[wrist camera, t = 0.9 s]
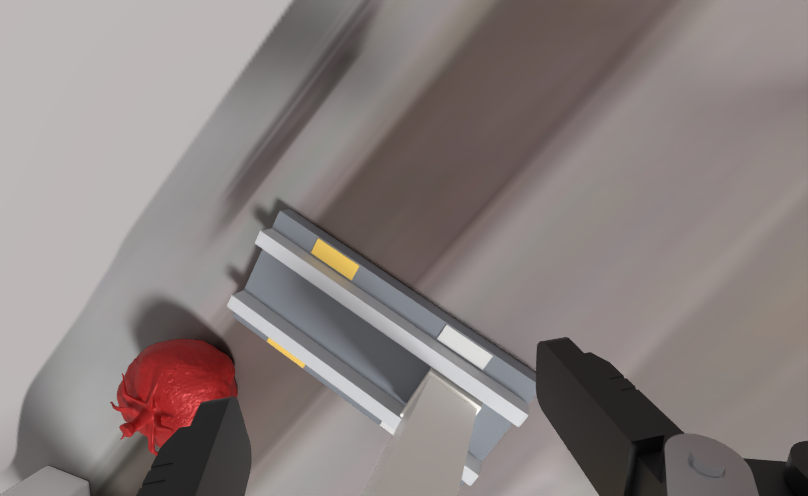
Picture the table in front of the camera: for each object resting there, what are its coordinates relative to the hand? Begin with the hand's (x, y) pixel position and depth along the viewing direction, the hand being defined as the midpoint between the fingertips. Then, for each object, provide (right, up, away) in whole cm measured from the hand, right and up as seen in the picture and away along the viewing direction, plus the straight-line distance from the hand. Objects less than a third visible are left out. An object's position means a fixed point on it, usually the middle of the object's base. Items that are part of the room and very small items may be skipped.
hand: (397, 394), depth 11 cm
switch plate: (-2, -4, +23) cm, 24 cm away
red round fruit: (-19, -9, +30) cm, 36 cm away
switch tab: (+3, -8, +20) cm, 22 cm away
